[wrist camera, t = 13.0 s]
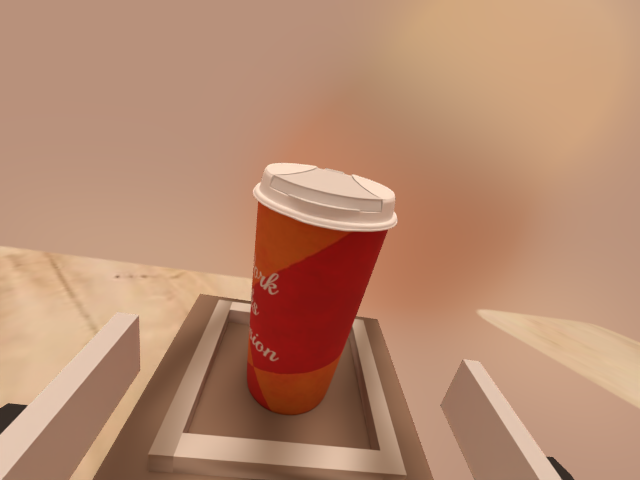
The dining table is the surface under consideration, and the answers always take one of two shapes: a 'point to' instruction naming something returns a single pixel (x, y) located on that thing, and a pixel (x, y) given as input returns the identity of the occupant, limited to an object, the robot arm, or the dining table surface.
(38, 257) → the dining table surface
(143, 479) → the walnut board
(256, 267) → the coffee cup
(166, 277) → the dining table surface
